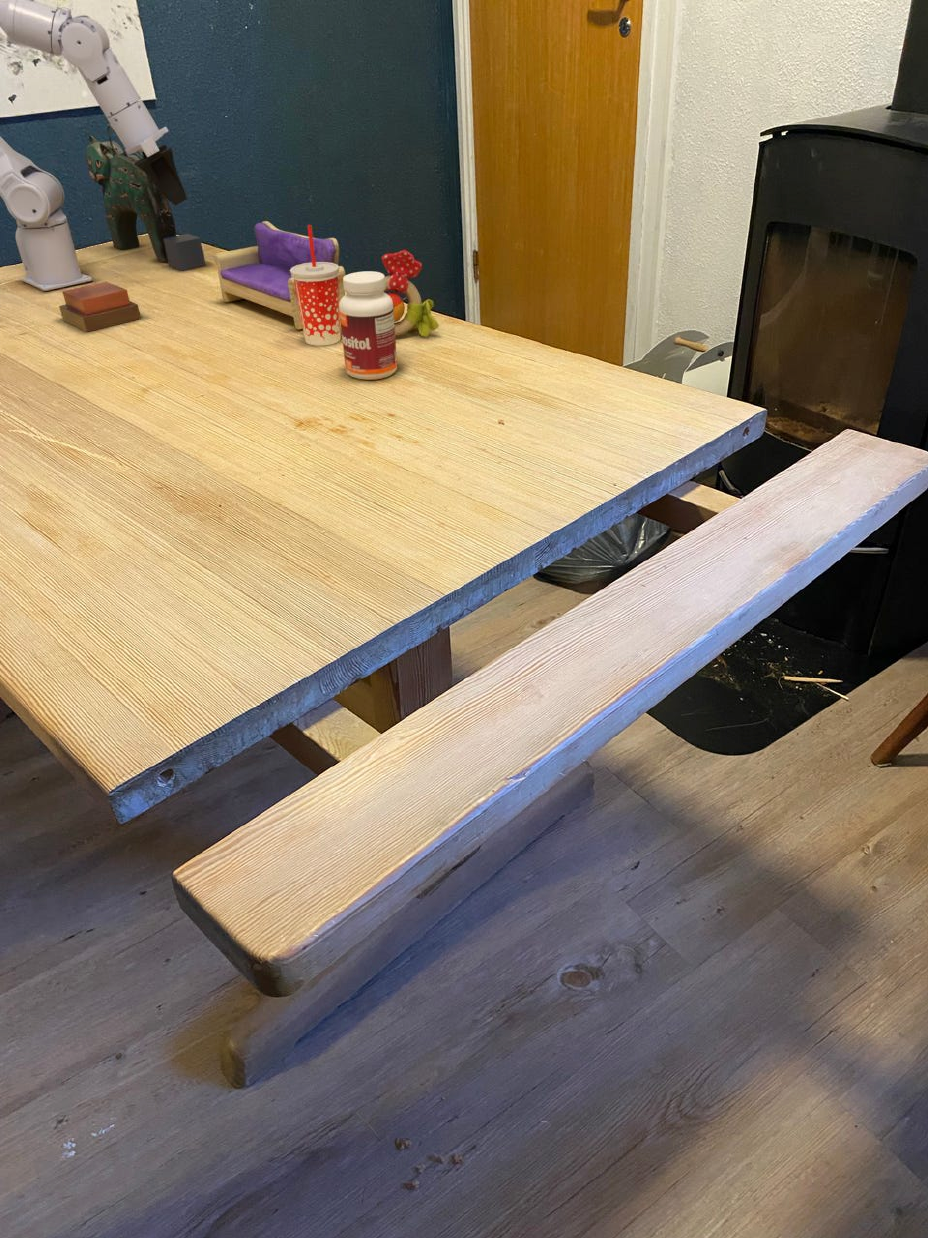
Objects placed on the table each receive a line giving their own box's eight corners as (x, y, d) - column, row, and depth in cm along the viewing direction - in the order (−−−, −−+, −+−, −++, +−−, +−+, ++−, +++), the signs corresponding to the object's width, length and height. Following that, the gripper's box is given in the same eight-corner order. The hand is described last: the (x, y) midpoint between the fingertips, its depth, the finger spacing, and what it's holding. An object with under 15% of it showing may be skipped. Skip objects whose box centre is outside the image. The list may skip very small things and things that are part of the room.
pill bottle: (335, 373, 107) (324, 278, 101) (371, 359, 111) (363, 266, 105) (372, 385, 104) (363, 287, 98) (408, 369, 108) (402, 274, 101)
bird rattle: (397, 362, 116) (456, 324, 116) (356, 285, 109) (418, 245, 109) (382, 348, 121) (438, 311, 121) (341, 273, 114) (401, 235, 114)
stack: (62, 320, 128) (54, 291, 126) (115, 307, 132) (108, 279, 130) (87, 332, 123) (79, 302, 121) (141, 318, 127) (134, 289, 125)
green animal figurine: (103, 247, 163) (72, 121, 151) (136, 240, 167) (108, 117, 155) (158, 265, 151) (129, 130, 139) (192, 258, 155) (167, 126, 143)
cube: (169, 266, 151) (163, 238, 148) (192, 260, 153) (187, 233, 150) (182, 270, 148) (176, 242, 145) (205, 265, 150) (200, 237, 148)
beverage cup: (354, 341, 117) (343, 225, 109) (311, 350, 114) (296, 233, 106) (334, 329, 121) (321, 217, 113) (292, 338, 119) (276, 224, 110)
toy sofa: (219, 301, 133) (206, 227, 127) (269, 289, 138) (259, 217, 132) (299, 333, 120) (288, 252, 114) (351, 318, 125) (343, 239, 119)
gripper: (151, 94, 126) (206, 190, 134) (145, 96, 138) (195, 184, 146) (107, 118, 126) (165, 213, 133) (104, 119, 138) (157, 206, 145)
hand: (178, 200), depth 140 cm, fingers open, 7 cm apart
